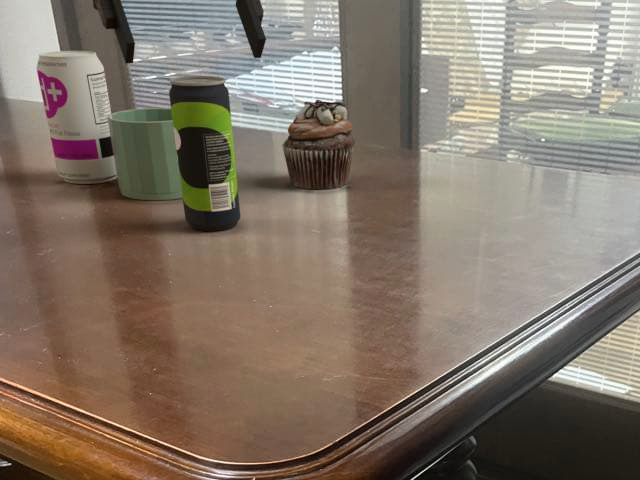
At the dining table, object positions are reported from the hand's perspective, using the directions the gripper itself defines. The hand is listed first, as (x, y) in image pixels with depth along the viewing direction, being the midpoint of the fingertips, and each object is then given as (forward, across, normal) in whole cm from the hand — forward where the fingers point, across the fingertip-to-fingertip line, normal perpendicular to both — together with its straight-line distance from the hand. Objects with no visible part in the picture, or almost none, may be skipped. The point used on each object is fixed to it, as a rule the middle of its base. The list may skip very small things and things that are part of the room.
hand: (197, 51), depth 89 cm
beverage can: (+11, 0, +14) cm, 18 cm away
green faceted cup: (-3, 0, +28) cm, 28 cm away
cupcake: (+1, +20, +24) cm, 31 cm away
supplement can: (-10, -7, +36) cm, 38 cm away
